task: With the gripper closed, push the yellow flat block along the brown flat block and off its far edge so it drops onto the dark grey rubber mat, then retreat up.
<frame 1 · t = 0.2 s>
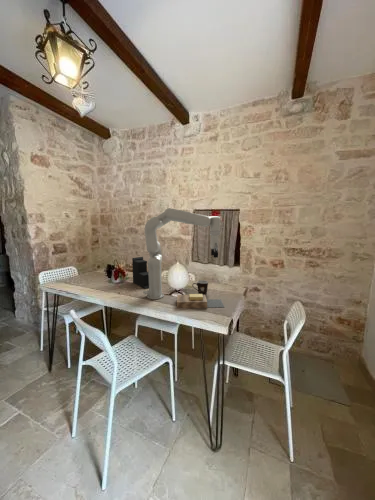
hand: (214, 256, 162), 31 cm above the table, fingers open, 9 cm apart
brown flat block: (191, 303, 152), on the table
bookend: (144, 285, 195), on the table
coffee mug: (200, 294, 172), on the table
yellow flat block: (196, 298, 151), point 4 cm above the table, touching brown flat block
mat: (214, 303, 152), on the table
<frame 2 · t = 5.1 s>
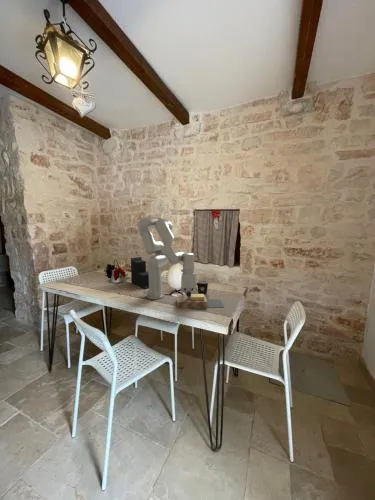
hand: (188, 297, 151), 5 cm above the table, fingers closed
yellow flat block: (197, 298, 151), point 4 cm above the table, touching brown flat block, gripper
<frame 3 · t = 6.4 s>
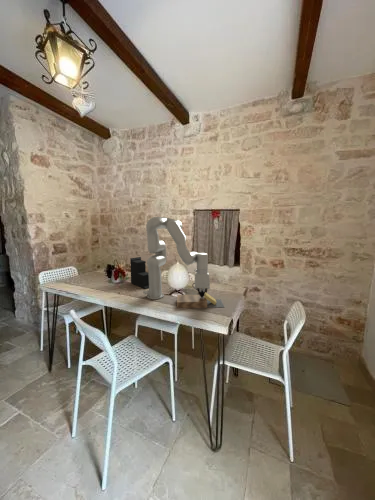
hand: (202, 296, 151), 5 cm above the table, fingers closed
yellow flat block: (209, 299, 151), point 3 cm above the table, tilted 36°, touching gripper
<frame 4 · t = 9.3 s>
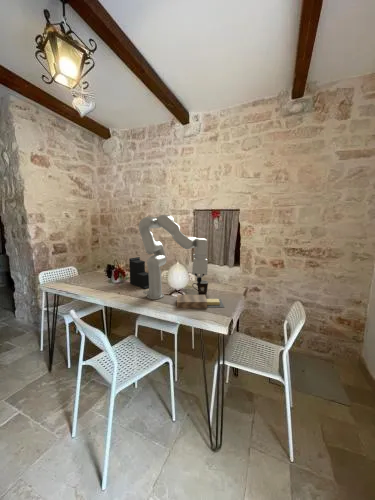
hand: (199, 282, 150), 15 cm above the table, fingers closed
yellow flat block: (212, 303, 152), resting on mat
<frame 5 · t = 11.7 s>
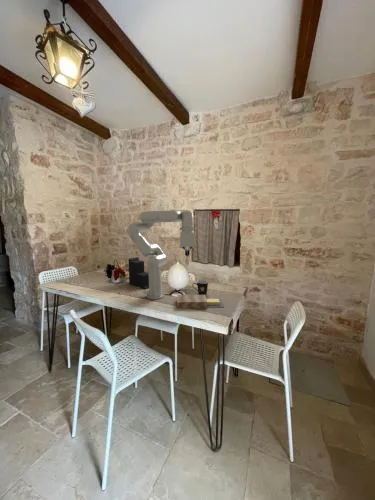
hand: (187, 256, 150), 33 cm above the table, fingers closed
at the end: yellow flat block resting on mat; yellow flat block inside the target area on the mat (1.4 cm from its centre), point 0.3 cm above the mat's base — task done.
